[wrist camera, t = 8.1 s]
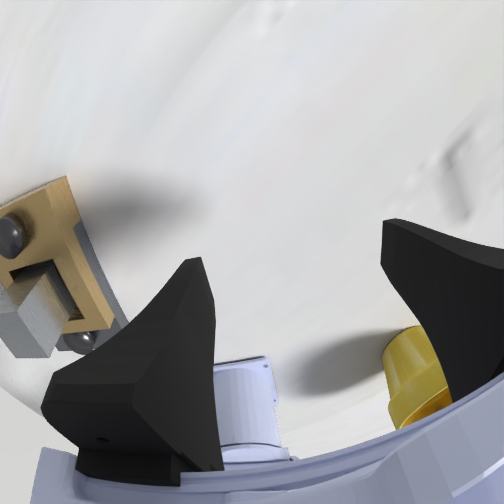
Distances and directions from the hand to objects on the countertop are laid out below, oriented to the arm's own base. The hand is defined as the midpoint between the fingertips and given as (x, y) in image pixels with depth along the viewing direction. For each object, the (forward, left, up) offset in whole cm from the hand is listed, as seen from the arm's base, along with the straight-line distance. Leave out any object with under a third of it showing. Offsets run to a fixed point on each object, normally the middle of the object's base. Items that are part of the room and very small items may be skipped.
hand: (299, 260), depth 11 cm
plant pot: (-21, -14, -10) cm, 27 cm away
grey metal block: (-3, +18, -9) cm, 21 cm away
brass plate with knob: (-3, +18, -9) cm, 21 cm away
